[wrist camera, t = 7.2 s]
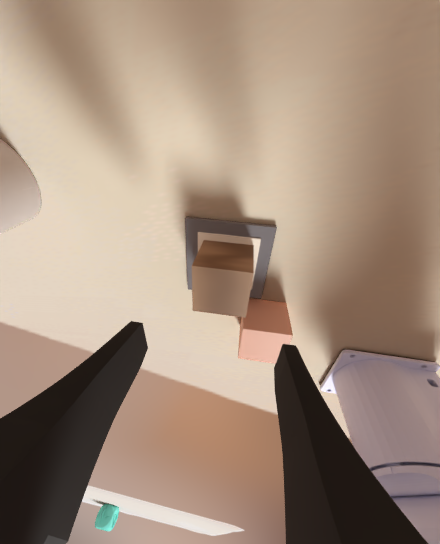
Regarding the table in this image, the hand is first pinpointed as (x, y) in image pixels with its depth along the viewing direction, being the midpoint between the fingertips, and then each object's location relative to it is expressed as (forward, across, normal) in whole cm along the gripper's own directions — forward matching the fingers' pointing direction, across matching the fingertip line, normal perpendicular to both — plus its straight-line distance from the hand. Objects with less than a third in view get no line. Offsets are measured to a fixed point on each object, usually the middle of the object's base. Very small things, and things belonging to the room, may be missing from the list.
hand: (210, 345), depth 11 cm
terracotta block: (+9, -4, +6) cm, 11 cm away
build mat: (+9, 0, 0) cm, 9 cm away
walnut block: (+8, 0, 0) cm, 8 cm away
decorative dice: (+9, +50, +159) cm, 167 cm away
